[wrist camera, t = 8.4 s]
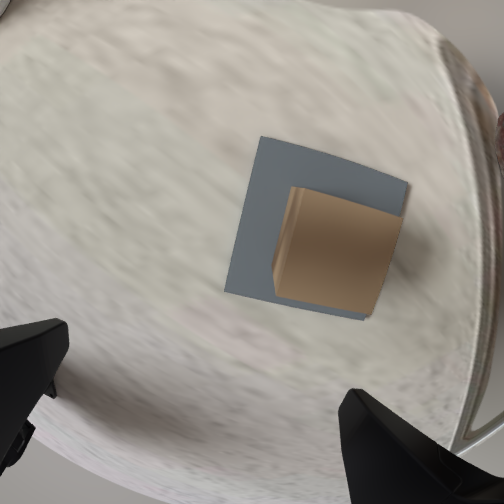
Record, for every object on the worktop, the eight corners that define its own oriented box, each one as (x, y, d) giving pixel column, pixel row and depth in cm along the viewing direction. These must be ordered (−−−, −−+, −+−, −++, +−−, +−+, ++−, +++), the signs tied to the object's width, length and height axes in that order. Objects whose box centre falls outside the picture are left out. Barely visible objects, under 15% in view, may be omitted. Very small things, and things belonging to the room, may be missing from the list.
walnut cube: (344, 281, 18) (371, 314, 13) (271, 265, 18) (276, 295, 13) (366, 207, 17) (403, 218, 12) (291, 186, 17) (304, 188, 12)
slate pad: (361, 317, 19) (363, 320, 19) (224, 288, 19) (223, 291, 18) (404, 182, 17) (407, 182, 16) (260, 137, 17) (260, 135, 16)
